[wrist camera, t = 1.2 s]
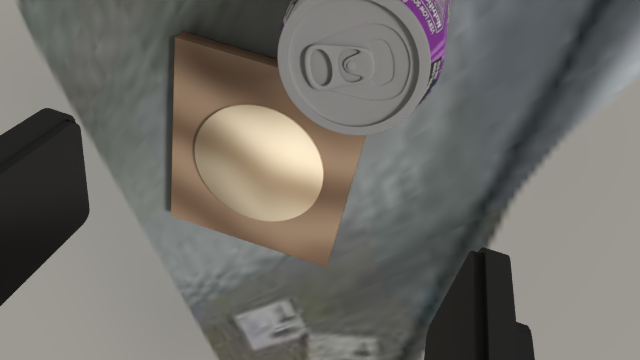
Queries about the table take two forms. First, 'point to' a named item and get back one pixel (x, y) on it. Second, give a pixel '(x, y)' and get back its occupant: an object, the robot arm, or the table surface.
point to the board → (254, 153)
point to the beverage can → (361, 59)
